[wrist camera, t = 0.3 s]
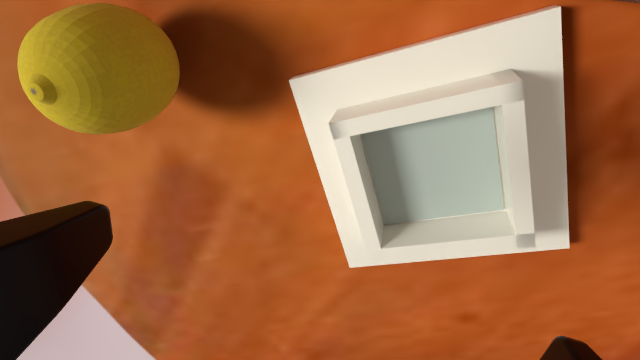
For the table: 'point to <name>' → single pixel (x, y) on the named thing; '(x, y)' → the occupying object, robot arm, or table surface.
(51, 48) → the lemon
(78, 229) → the robot arm
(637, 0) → the pepper mill
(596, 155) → the table surface
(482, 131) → the mill stand
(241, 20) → the table surface
